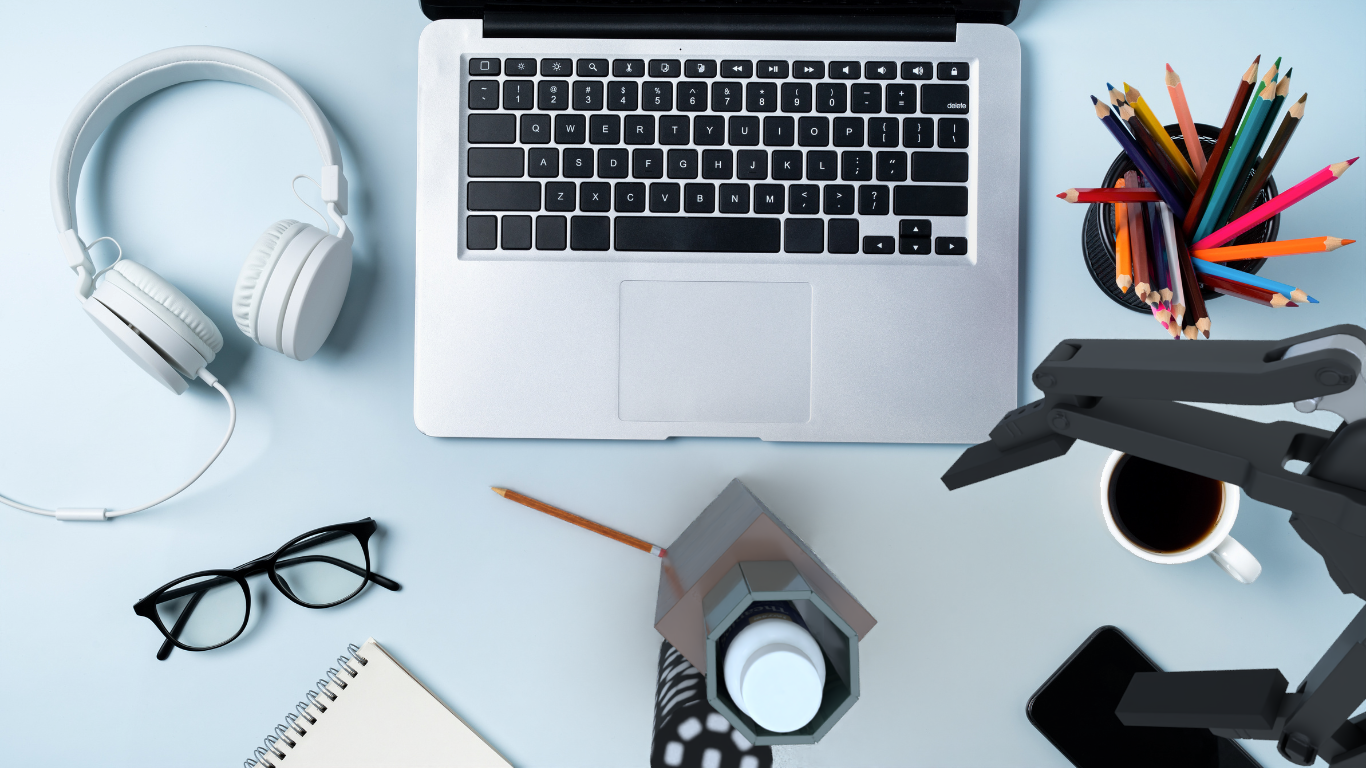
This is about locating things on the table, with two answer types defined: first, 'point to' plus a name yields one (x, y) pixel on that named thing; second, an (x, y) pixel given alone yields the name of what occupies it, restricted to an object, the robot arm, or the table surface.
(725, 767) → the white-spotted black cylinder
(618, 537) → the pencil
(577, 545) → the table surface
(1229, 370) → the robot arm
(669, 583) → the stand
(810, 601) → the cup
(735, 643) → the pill bottle
